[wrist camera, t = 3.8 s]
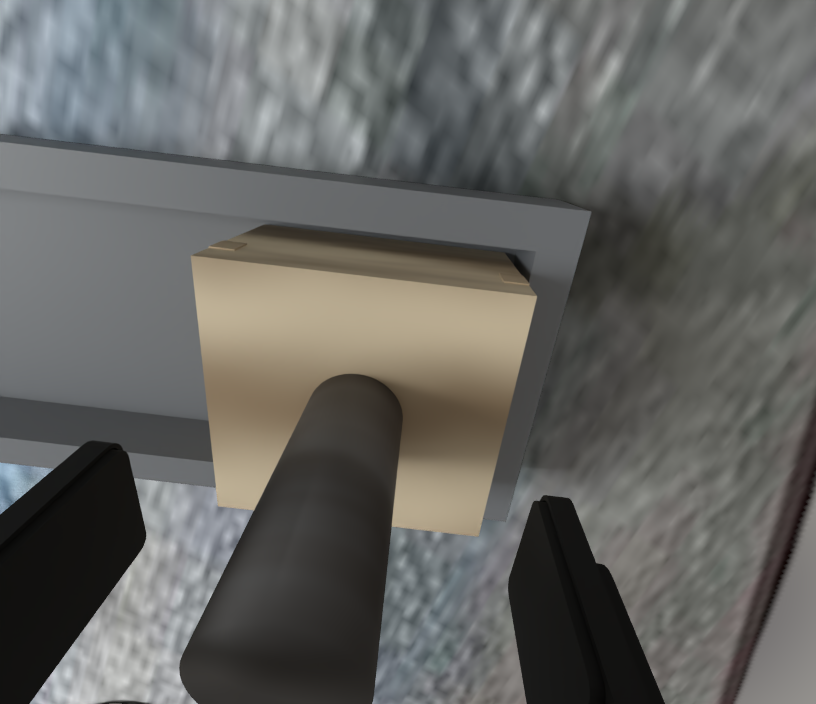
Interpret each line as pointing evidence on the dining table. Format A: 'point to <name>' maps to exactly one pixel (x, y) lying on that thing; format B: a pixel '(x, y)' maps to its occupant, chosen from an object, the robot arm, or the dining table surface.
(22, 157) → the bay
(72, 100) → the dining table surface
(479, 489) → the rubber stamp
